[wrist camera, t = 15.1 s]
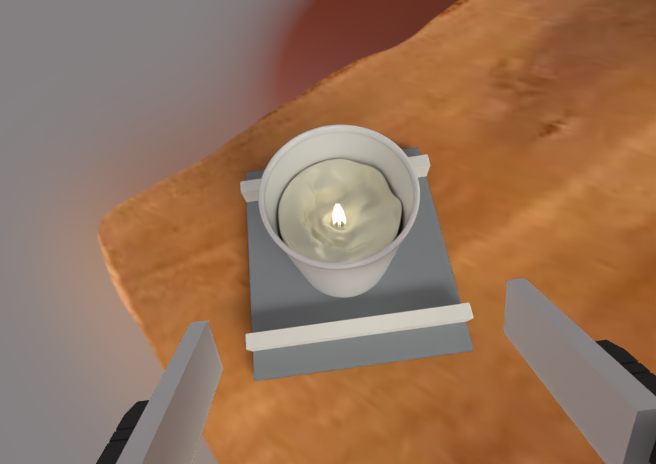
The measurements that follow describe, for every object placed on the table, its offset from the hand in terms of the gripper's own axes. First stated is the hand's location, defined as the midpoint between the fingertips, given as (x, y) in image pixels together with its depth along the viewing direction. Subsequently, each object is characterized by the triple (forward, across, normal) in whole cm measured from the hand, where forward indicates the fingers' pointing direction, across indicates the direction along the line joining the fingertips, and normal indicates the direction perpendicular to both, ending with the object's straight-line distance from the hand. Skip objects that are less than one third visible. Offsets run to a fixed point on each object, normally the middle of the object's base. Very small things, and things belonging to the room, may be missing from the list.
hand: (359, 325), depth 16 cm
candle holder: (+16, 0, -4) cm, 17 cm away
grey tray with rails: (+18, 0, -5) cm, 18 cm away
